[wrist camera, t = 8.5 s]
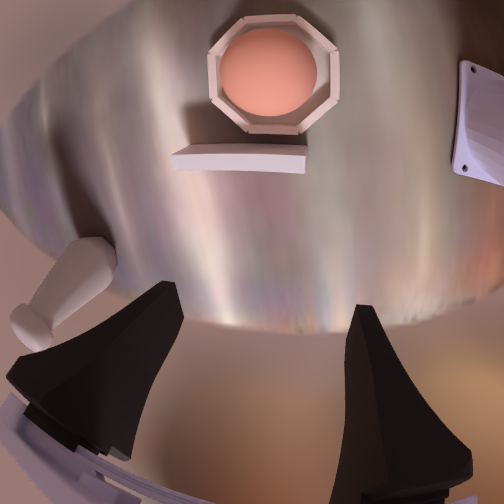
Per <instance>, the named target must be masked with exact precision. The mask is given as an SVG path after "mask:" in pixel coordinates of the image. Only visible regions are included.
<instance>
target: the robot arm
mask: <svg viewBox="0 0 504 504" xmlns="http://www.w3.org/2000/svg"><path fill="white" fill-rule="evenodd" d="M471 66H472V67H473V68H474V73H473V72H472V71H471ZM459 68H460V77H459V105H458V118H457V128H456V137H455V145H454V152H453V158H452V170H453V171H454V172H455V173H457V174H461V175H465V176H469V177H473V178H477V179H481V180H484V181H488V182H492V183H495V184H499V185H502V186H504V76H502V75H500V74H498V73H496V72H493V71H491V70H489V69H487V68H485V67H482V66H480V65H477V64H475V63H472V62H470V61H467V60H463V61H461V62H460V65H459ZM463 165H466V168H465V170H462V167H463ZM183 319H184V315H183V312H182V308H181V304H180V300H179V297H178V293H177V289H176V285H175V282H169V281H161V282H159V283H158V284H156V285H155V286H153V287H152V288H151V289H149V290H148V291H147V292H145V293H144V294H142V295H141V296H140V297H138V298H137V299H136V300H134V301H133V302H131V303H130V304H129V305H127V306H126V307H125V308H123V309H122V310H120V311H119V312H117V313H116V314H114V315H113V316H111V317H110V318H108V319H107V320H105V321H104V322H102V323H101V324H99V325H97V326H96V327H94V328H92V329H90V330H89V331H87V332H85V333H83V334H81V335H79V336H77V337H75V338H73V339H70V340H68V341H66V342H64V343H62V344H60V345H57V346H54V347H51V348H48V349H46V350H43V351H39V352H36V353H32V354H28V355H25V356H20V357H19V358H18V359H17V361H16V362H15V364H14V365H13V366H12V368H11V369H10V370H9V372H8V373H7V375H6V378H7V380H8V381H9V382H10V383H11V384H12V385H13V386H14V387H15V388H16V389H17V390H18V391H19V392H20V393H21V394H22V395H23V396H24V397H25V398H26V399H27V400H28V401H29V402H30V403H29V405H28V406H27V405H25V404H24V403H23V402H22V401H21V400H20V399H18V398H17V397H16V396H15V395H14V394H13V393H11V392H10V393H9V394H8V396H7V398H6V399H5V401H4V402H3V404H2V405H1V407H0V442H1V443H2V445H3V446H4V447H5V448H6V450H7V451H8V452H9V453H10V455H11V456H12V457H13V459H14V460H15V461H16V463H17V464H18V465H19V467H20V468H21V469H22V470H23V471H24V472H25V474H26V475H27V476H28V477H29V479H30V480H31V481H32V482H33V483H34V484H35V485H36V486H37V487H38V489H39V490H40V491H41V492H42V493H43V494H44V495H45V496H46V497H47V498H48V499H49V500H50V501H51V502H52V503H53V504H140V503H141V501H142V500H141V499H140V498H139V497H137V496H135V495H133V494H131V493H129V492H127V491H125V490H123V489H120V488H118V487H116V486H114V485H112V484H110V483H108V482H106V481H105V479H104V476H103V475H105V476H106V477H108V478H110V479H112V480H114V481H116V482H118V483H120V484H122V485H124V486H126V487H128V488H130V489H132V490H134V491H136V492H138V493H140V494H143V495H145V496H147V497H149V498H152V499H154V500H157V501H159V502H162V503H165V504H215V503H211V502H208V501H204V500H201V499H197V498H194V497H191V496H188V495H184V494H182V493H179V492H176V491H173V490H170V489H168V488H165V487H162V486H160V485H157V484H155V483H152V482H150V481H148V480H145V479H143V478H141V477H138V476H136V475H134V474H132V473H130V472H128V471H126V470H124V469H122V468H119V467H117V466H115V465H114V464H112V463H110V462H108V461H106V460H104V459H102V458H101V457H99V456H98V454H99V453H101V454H103V455H105V456H107V455H108V454H110V455H112V456H114V457H116V458H118V459H120V460H122V461H128V460H130V459H131V454H132V449H133V444H134V440H135V435H136V431H137V428H138V424H139V420H140V417H141V414H142V411H143V408H144V405H145V402H146V399H147V397H148V394H149V391H150V389H151V386H152V384H153V382H154V379H155V377H156V375H157V374H158V372H159V370H160V368H161V366H162V364H163V362H164V360H165V359H166V357H167V355H168V353H169V351H170V349H171V347H172V345H173V343H174V342H175V340H176V338H177V335H178V333H179V330H180V327H181V324H182V322H183ZM344 367H345V426H344V434H343V441H342V447H341V453H340V459H339V464H338V469H337V474H336V478H335V483H334V487H333V490H332V494H331V498H330V502H329V504H444V501H445V498H448V496H449V488H452V487H454V486H456V485H459V484H461V483H463V482H465V481H467V480H469V479H470V478H471V477H472V476H473V460H472V453H471V450H470V449H469V448H467V447H466V446H465V445H464V444H463V443H462V442H461V441H460V440H459V439H458V438H457V437H456V436H455V435H454V434H453V433H452V432H451V431H450V430H449V429H448V428H447V427H446V426H445V425H444V423H443V422H442V421H441V420H440V419H439V417H438V416H437V415H436V414H435V412H434V411H433V410H432V409H431V408H430V406H429V405H428V404H427V402H426V401H425V400H424V398H423V397H422V395H421V394H420V393H419V391H418V390H417V388H416V387H415V385H414V384H413V382H412V381H411V379H410V377H409V376H408V374H407V372H406V371H405V369H404V367H403V366H402V364H401V362H400V360H399V358H398V357H397V355H396V353H395V351H394V349H393V347H392V345H391V343H390V341H389V340H388V338H387V336H386V333H385V331H384V329H383V327H382V325H381V323H380V321H379V319H378V317H377V314H376V312H375V310H374V308H373V307H372V306H370V305H358V304H356V308H355V311H354V315H353V318H352V321H351V325H350V328H349V331H348V335H347V338H346V346H345V361H344ZM447 504H477V495H473V496H471V497H467V498H464V499H461V500H458V501H454V502H451V503H447Z"/></svg>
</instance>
